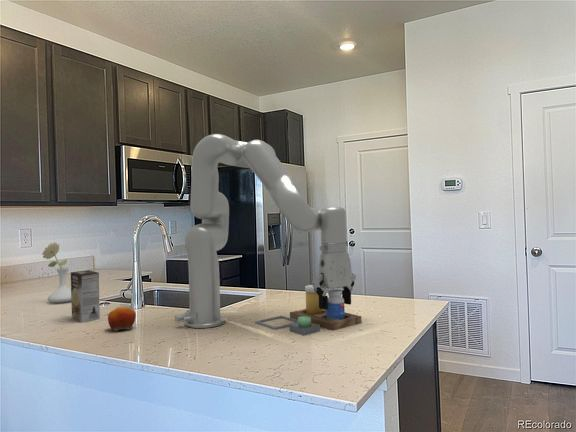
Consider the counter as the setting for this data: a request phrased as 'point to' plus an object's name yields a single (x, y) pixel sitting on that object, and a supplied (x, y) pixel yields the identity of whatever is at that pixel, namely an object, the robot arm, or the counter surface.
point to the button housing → (304, 328)
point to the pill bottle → (335, 305)
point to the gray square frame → (275, 319)
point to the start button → (304, 321)
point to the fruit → (121, 318)
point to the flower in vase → (63, 291)
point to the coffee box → (85, 295)
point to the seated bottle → (312, 301)
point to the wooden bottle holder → (328, 323)
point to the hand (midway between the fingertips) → (335, 306)
